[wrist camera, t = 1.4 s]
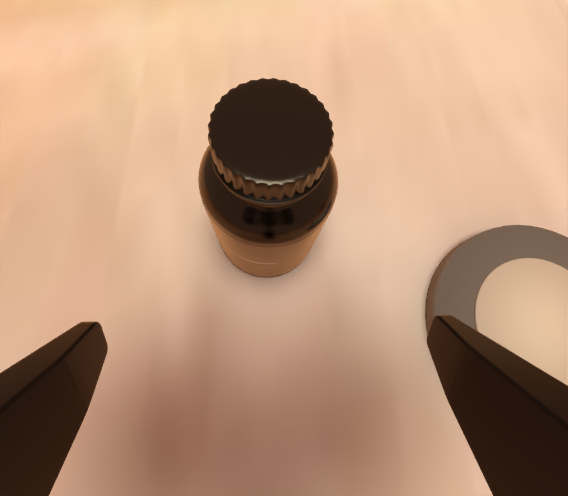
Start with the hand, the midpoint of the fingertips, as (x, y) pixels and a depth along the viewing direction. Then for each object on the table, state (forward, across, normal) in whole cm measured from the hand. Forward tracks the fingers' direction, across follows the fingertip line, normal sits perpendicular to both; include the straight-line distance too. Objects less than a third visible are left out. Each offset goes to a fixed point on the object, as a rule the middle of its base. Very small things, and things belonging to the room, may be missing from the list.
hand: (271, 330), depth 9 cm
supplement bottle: (+15, 0, +4) cm, 15 cm away
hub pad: (+10, -18, +9) cm, 22 cm away
